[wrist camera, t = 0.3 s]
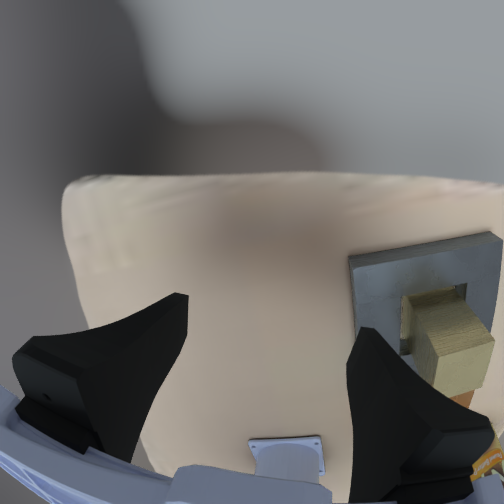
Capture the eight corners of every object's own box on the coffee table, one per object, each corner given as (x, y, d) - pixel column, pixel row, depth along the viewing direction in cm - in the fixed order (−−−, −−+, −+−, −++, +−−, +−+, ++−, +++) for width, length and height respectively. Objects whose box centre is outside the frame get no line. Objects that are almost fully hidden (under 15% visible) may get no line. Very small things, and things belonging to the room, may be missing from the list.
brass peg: (444, 323, 22) (481, 387, 14) (402, 332, 23) (429, 403, 15) (448, 281, 21) (495, 340, 13) (402, 290, 21) (438, 357, 14)
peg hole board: (455, 416, 26) (460, 429, 24) (357, 439, 28) (358, 454, 26) (489, 231, 19) (504, 240, 17) (348, 256, 21) (353, 269, 19)
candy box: (492, 420, 26) (525, 511, 12) (475, 440, 27) (502, 527, 13) (441, 427, 27) (469, 534, 12) (426, 447, 28) (445, 548, 14)
